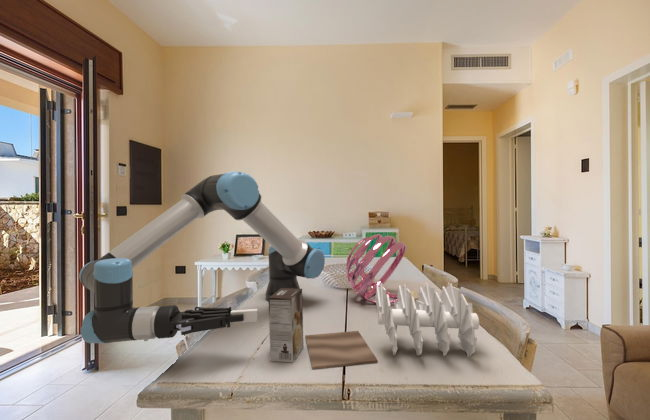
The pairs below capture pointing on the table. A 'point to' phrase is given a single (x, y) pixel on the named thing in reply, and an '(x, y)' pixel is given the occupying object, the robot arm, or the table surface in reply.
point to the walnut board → (338, 350)
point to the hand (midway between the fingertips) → (257, 314)
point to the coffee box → (286, 324)
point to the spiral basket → (367, 259)
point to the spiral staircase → (429, 316)
